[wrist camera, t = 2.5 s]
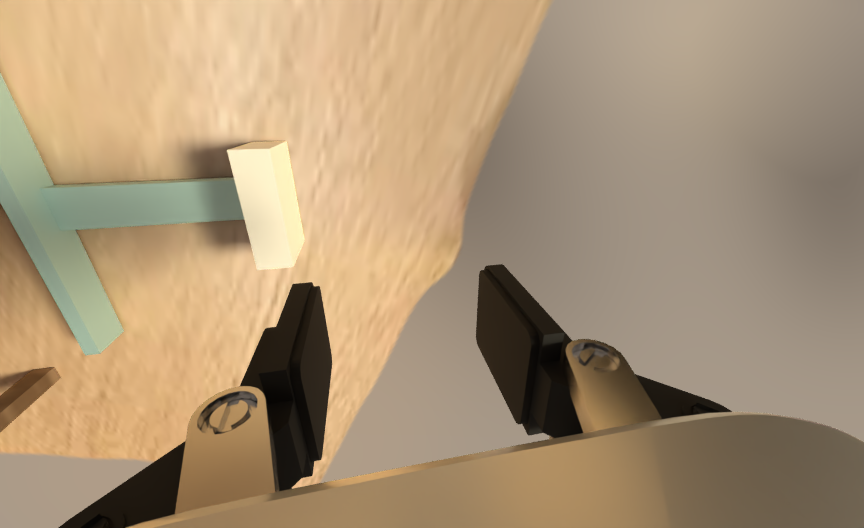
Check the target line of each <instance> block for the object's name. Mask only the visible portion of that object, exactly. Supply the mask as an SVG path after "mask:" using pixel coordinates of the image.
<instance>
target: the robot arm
mask: <svg viewBox="0 0 864 528" xmlns="http://www.w3.org/2000/svg"><path fill="white" fill-rule="evenodd" d="M476 340H477V344H478V347H479V349H480V351H481V353H482V355H483V357H484V358H485V361H486V363H487V365H488V367H489V369H490V371H491V373H492V375H493V377H494V379H495V381H496V383H497V385H498V387H499V389H500V391H501V393H502V395H503V397H504V399H505V401H506V403H507V405H508V407H509V409H510V411H511V413H512V415H513V417H514V419H515V421H516V423H518V424H523V426H524V428H525V430H526V432H527V434H528V435H534V434H539V433H545V434H547V435H549V439H548V440H544V441H538V442H532V443H527V444H522V445H516V446H511V447H506V448H501V449H495V450H490V451H485V452H479V453H474V454H469V455H464V456H459V457H453V458H448V459H443V460H437V461H432V462H427V463H422V464H417V465H412V466H406V467H401V468H396V469H391V470H386V471H381V472H375V473H370V474H365V475H360V476H355V477H350V478H345V479H340V480H335V481H330V482H325V483H319V484H314V485H309V486H304V487H299V488H294V489H292V487H293V486H294V485H295V484H296V483H297V482H298V481H299V480H300V479H301V478H303V477H309V476H312V474H313V467H314V461H317V460H321V458H322V451H323V442H324V433H325V424H326V415H327V406H328V396H329V387H330V378H331V369H332V355H331V349H330V343H329V337H328V331H327V325H326V319H325V314H324V308H323V302H322V296H321V290H320V287H319V286H315V287H314V286H313V283H312V282H310V283H299V284H293V285H292V287H291V290H290V292H289V295H288V298H287V300H286V303H285V305H284V308H283V311H282V313H281V316H280V319H279V321H278V324H277V326H276V327H272V328H266V329H265V330H264V332H263V334H262V336H261V339H260V341H259V343H258V346H257V348H256V350H255V353H254V355H253V357H252V360H251V362H250V364H249V367H248V369H247V371H246V373H245V376H244V378H243V380H242V383H241V385H240V386H239V387H235V388H230V389H227V390H225V391H222V392H220V393H217V394H216V395H214V396H213V397H211V398H209V399H208V400H206V401H205V402H204V403H203V404H202V405H200V406H199V407H198V408H197V410H196V411H195V412H194V414H193V415H192V416H191V419H190V421H189V424H188V429H187V436H186V441H185V442H183V443H182V444H180V445H179V446H177V447H176V448H174V449H173V450H171V451H170V452H168V453H167V454H166V455H164V456H163V457H161V458H160V459H158V460H157V461H155V462H154V463H152V464H151V465H149V466H148V467H146V468H145V469H143V470H142V471H140V472H139V473H137V474H136V475H134V476H133V477H131V478H130V479H128V480H127V481H126V482H124V483H123V484H121V485H120V486H118V487H117V488H115V489H114V490H112V491H111V492H109V493H108V494H107V495H105V496H103V497H102V498H100V499H99V500H98V501H96V502H94V503H93V504H91V505H90V506H88V507H87V508H85V509H84V510H83V511H82V512H80V513H78V514H77V515H75V516H74V517H72V518H71V519H69V520H68V521H67V522H65V523H64V524H63V525H62V526H60V527H59V528H864V442H863V441H861V440H859V439H857V438H856V437H854V436H852V435H850V434H848V433H845V432H843V431H841V430H838V429H836V428H832V427H830V426H827V425H823V424H820V423H817V422H813V421H808V420H804V419H800V418H794V417H788V416H781V415H774V414H768V413H755V412H732V411H730V410H729V409H727V408H725V407H724V406H722V405H720V404H718V403H715V402H713V401H711V400H708V399H705V398H702V397H699V396H696V395H693V394H691V393H688V392H685V391H682V390H679V389H676V388H673V387H670V386H667V385H664V384H662V383H659V382H656V381H653V380H650V379H647V378H644V377H642V376H639V375H636V374H635V373H634V372H633V370H632V368H631V367H630V365H629V364H628V362H627V360H626V359H625V357H624V356H623V355H622V354H621V353H620V352H619V351H618V350H616V349H615V348H614V347H612V346H610V345H608V344H606V343H603V342H600V341H597V340H591V339H578V340H574V341H572V340H571V339H570V338H569V337H568V335H567V334H566V333H565V332H564V331H563V330H562V329H561V328H560V326H559V325H558V324H557V323H556V322H555V321H554V320H553V319H552V318H551V317H550V316H549V315H548V313H547V312H546V311H545V310H544V309H543V308H542V307H541V306H540V305H539V303H538V302H537V301H536V300H535V299H534V298H533V297H532V296H531V295H530V294H529V293H528V292H527V290H526V289H525V288H524V287H523V286H522V285H521V284H520V283H519V282H518V281H517V279H516V278H515V277H514V276H513V275H512V274H511V273H510V272H509V271H508V270H507V268H506V267H505V266H504V265H502V264H501V265H490V266H486V267H485V269H484V270H481V271H480V274H479V290H478V309H477V327H476Z"/></svg>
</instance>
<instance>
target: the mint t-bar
mask: <svg viewBox="0 0 864 528" xmlns="http://www.w3.org/2000/svg"><path fill="white" fill-rule="evenodd" d="M227 153H228V157H229V161H230V164H231V168H232V172H233V176H234V177H229V178H206V179H182V180H159V181H136V182H112V183H89V184H66V185H54V184H53V182H52V180H51V177H50V175H49V173H48V171H47V169H46V167H45V165H44V163H43V161H42V159H41V157H40V155H39V152H38V150H37V148H36V146H35V144H34V142H33V140H32V138H31V136H30V134H29V132H28V129H27V127H26V125H25V123H24V121H23V119H22V117H21V115H20V113H19V111H18V109H17V106H16V104H15V102H14V100H13V98H12V96H11V94H10V92H9V90H8V88H7V86H6V83H5V81H4V79H3V77H2V75H1V73H0V203H1V205H2V207H3V209H4V210H5V212H6V214H7V216H8V218H9V219H10V221H11V223H12V225H13V227H14V228H15V230H16V232H17V234H18V236H19V237H20V239H21V241H22V243H23V245H24V246H25V248H26V250H27V252H28V253H29V255H30V257H31V259H32V261H33V262H34V264H35V266H36V268H37V270H38V271H39V273H40V275H41V277H42V279H43V280H44V282H45V284H46V286H47V288H48V289H49V291H50V293H51V295H52V297H53V298H54V300H55V302H56V304H57V305H58V307H59V309H60V311H61V313H62V314H63V316H64V318H65V320H66V322H67V323H68V325H69V327H70V329H71V331H72V332H73V334H74V336H75V338H76V340H77V341H78V343H79V345H80V347H81V349H82V350H83V352H84V354H85V355H93V354H100V353H101V352H102V351H103V350H104V349H106V348H107V347H108V346H109V345H110V344H111V343H112V342H113V341H114V340H115V339H116V338H117V337H118V336H119V335H120V334H121V333H122V332H124V330H123V328H122V326H121V324H120V322H119V320H118V317H117V315H116V313H115V311H114V309H113V307H112V305H111V303H110V301H109V299H108V297H107V294H106V292H105V290H104V288H103V286H102V284H101V282H100V280H99V278H98V276H97V274H96V272H95V269H94V267H93V265H92V263H91V261H90V259H89V257H88V255H87V253H86V251H85V249H84V246H83V244H82V242H81V240H80V238H79V236H78V234H77V232H76V230H83V229H99V228H115V227H131V226H147V225H163V224H179V223H195V222H211V221H227V220H243V219H244V220H245V224H246V228H247V232H248V235H249V239H250V243H251V247H252V251H253V255H254V259H255V263H256V267H257V270H265V269H276V268H288V267H294V264H295V262H296V260H297V257H298V255H299V252H300V250H301V248H302V245H303V243H304V241H305V240H304V235H303V229H302V224H301V218H300V213H299V207H298V202H297V196H296V190H295V185H294V179H293V174H292V168H291V163H290V157H289V152H288V146H287V141H267V142H251V143H247V144H244V145H241V146H238V147H235V148H231V149H228V150H227Z"/></svg>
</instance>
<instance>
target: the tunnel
mask: <svg viewBox="0 0 864 528" xmlns="http://www.w3.org/2000/svg"><path fill="white" fill-rule="evenodd" d="M60 378H61V377H60V376H59V374H58V372H57V371H56V369H55V368H54V367H52V368H44V369H35V370H32V371H31V372H29V373H28V374H27V375H26V376H24V377H23V378H22V379H21V380H19V381H18V382H17V383H16V384H14V385H13V386H12V387H11V388H9V389H8V390H7V391H6V392H4V393H3V394H2V395H1V396H0V432H1V431H2V430H3V429H5V428H6V427H7V426H8V425H9V424H10V423H11V422H12V421H13V420H15V419H16V418H17V417H18V416H19V415H20V414H21V413H22V412H23V411H24V410H26V409H27V408H28V407H29V406H30V405H31V404H32V403H33V402H34V401H36V400H37V399H38V398H39V397H40V396H41V395H42V394H43V393H44V392H46V391H47V390H48V389H49V388H50V387H51V386H52V385H53V384H54V383H56V382H57V381H58V380H59V379H60Z"/></svg>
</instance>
